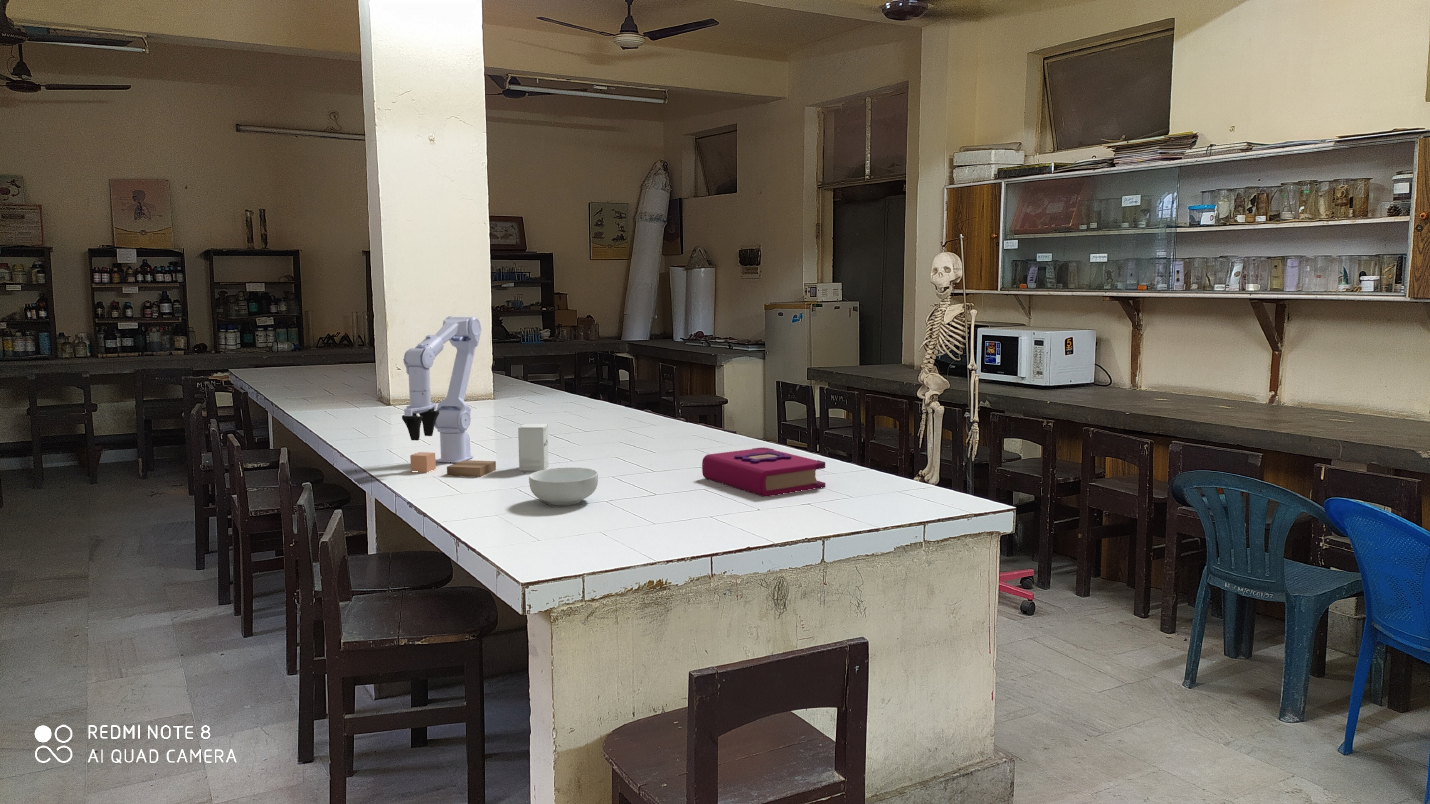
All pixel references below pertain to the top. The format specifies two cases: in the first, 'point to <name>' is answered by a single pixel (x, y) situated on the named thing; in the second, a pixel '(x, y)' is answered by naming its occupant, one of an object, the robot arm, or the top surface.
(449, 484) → the top surface
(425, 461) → the terracotta cube
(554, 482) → the cereal bowl
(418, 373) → the robot arm
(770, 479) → the book
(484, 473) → the walnut slab
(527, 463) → the supplement box
